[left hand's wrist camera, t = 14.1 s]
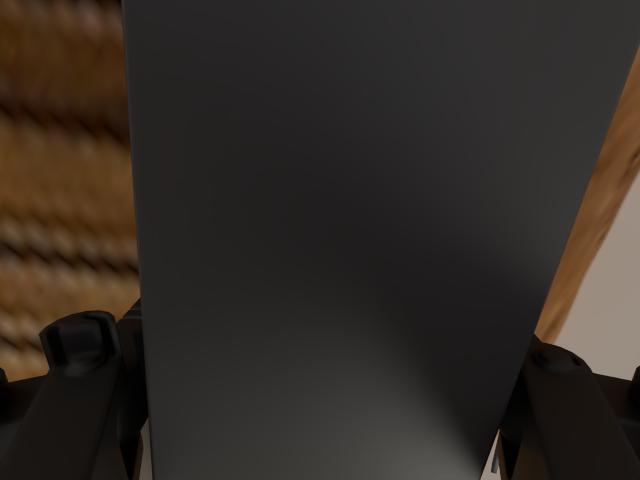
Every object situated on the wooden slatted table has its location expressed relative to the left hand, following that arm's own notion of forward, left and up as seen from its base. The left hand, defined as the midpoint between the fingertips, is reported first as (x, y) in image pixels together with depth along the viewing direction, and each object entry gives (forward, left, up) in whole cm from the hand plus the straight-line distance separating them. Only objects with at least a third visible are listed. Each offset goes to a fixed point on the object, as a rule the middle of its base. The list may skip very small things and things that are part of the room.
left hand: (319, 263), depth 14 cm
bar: (0, +10, -1) cm, 10 cm away
